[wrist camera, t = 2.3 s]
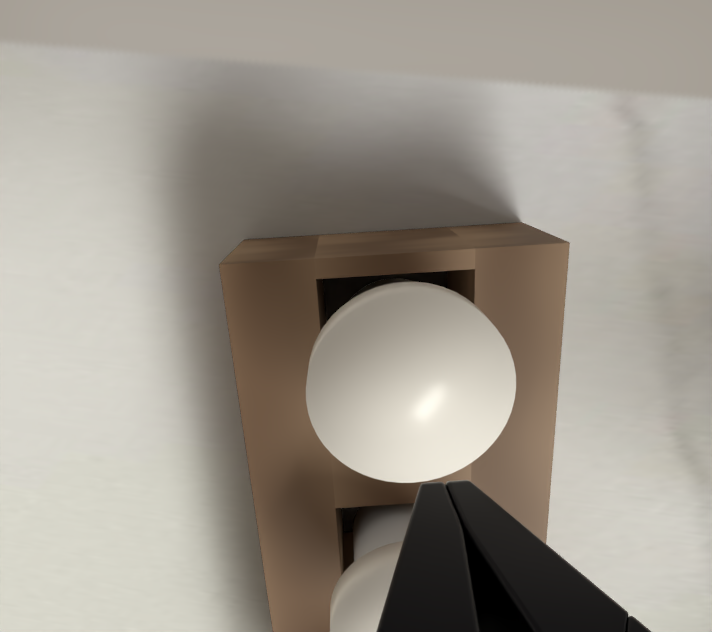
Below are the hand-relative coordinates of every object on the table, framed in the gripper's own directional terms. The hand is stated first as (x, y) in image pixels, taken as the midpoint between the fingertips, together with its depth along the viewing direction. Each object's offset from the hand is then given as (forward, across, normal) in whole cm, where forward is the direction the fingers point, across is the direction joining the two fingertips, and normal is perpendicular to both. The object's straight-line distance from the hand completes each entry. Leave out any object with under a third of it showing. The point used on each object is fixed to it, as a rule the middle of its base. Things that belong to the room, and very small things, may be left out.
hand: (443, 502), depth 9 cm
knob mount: (+11, 0, +8) cm, 14 cm away
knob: (+9, 0, 0) cm, 9 cm away
